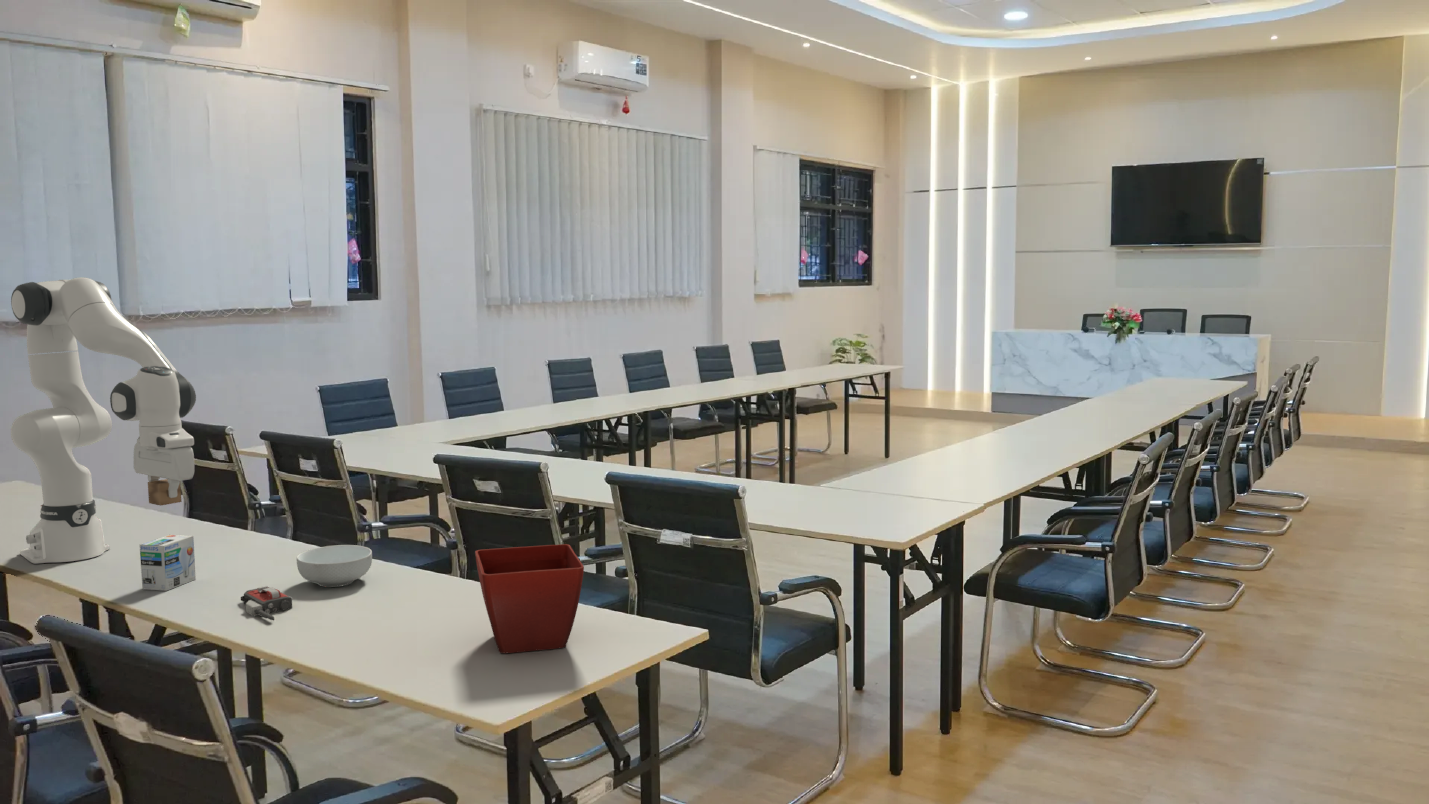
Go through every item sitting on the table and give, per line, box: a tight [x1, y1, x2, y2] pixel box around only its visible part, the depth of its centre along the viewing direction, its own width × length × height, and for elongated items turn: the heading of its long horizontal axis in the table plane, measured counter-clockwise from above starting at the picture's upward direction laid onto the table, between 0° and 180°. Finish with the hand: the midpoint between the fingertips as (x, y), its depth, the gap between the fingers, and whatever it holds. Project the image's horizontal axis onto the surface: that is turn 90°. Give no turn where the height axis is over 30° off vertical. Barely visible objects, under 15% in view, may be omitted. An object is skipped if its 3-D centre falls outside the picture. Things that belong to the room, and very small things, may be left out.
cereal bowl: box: [296, 544, 373, 588], centre depth 256 cm, size 17×17×7 cm
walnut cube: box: [147, 478, 182, 507], centre depth 253 cm, size 5×5×5 cm
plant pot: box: [474, 543, 585, 654], centre depth 213 cm, size 19×19×17 cm
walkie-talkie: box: [240, 585, 293, 621], centre depth 235 cm, size 9×4×20 cm
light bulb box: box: [139, 534, 197, 592], centre depth 254 cm, size 11×7×11 cm, turn 169°
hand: (164, 495), depth 253 cm, fingers closed on walnut cube, 5 cm apart
